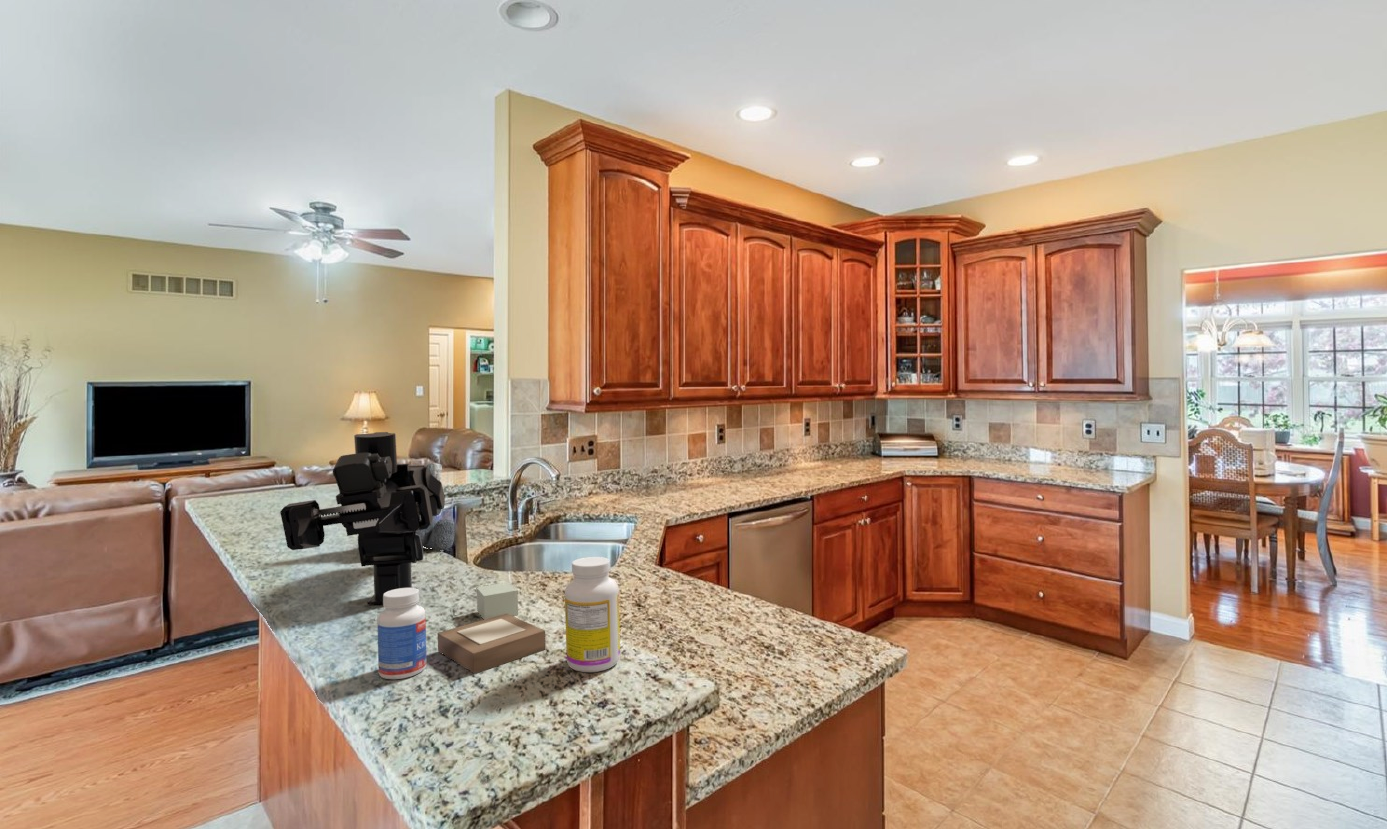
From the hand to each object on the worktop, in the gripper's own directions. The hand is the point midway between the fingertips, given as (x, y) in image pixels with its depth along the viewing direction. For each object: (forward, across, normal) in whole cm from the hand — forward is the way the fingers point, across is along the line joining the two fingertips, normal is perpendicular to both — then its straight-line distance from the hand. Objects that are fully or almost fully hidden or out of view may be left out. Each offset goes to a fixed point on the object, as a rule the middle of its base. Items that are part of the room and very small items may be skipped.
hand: (339, 534), depth 82 cm
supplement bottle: (+11, +30, +19) cm, 37 cm away
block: (-11, +16, +19) cm, 27 cm away
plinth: (+4, +17, +18) cm, 25 cm away
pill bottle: (+7, +7, +17) cm, 19 cm away
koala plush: (-62, -9, +22) cm, 66 cm away
